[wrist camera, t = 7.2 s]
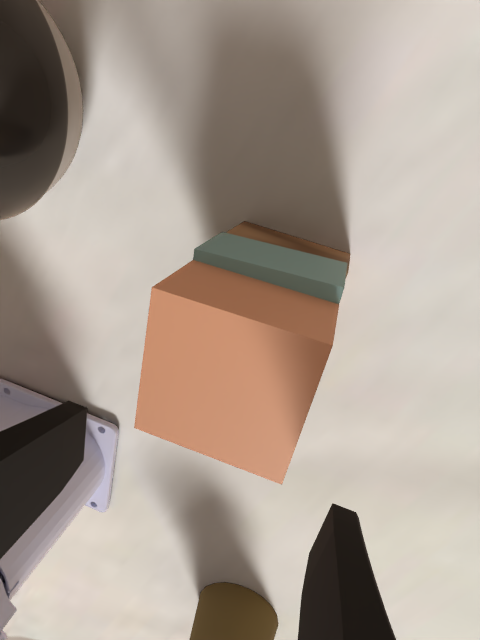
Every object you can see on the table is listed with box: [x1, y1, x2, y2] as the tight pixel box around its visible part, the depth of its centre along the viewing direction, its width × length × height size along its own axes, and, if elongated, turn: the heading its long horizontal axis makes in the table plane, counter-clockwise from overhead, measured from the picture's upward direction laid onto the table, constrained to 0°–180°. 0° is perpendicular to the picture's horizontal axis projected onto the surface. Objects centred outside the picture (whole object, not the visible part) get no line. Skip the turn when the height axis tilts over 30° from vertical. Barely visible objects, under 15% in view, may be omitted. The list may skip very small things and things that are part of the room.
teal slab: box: [193, 232, 348, 304], centre depth 15 cm, size 5×5×3 cm
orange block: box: [134, 260, 339, 484], centre depth 13 cm, size 5×5×3 cm
